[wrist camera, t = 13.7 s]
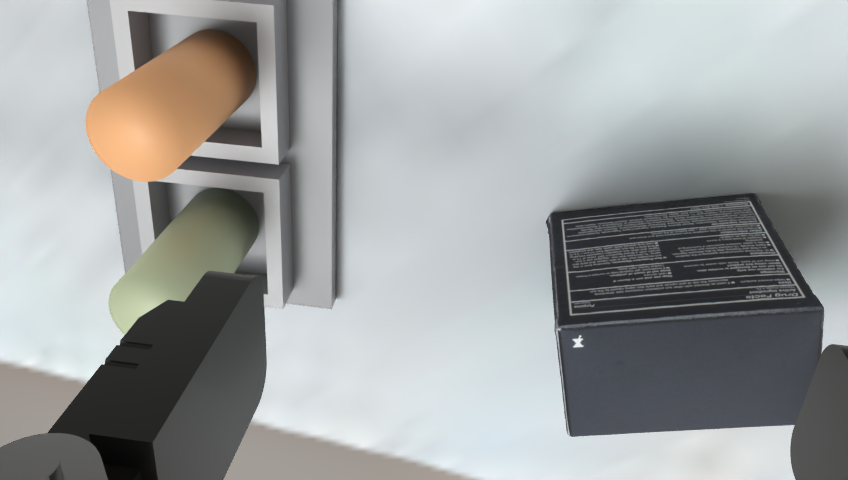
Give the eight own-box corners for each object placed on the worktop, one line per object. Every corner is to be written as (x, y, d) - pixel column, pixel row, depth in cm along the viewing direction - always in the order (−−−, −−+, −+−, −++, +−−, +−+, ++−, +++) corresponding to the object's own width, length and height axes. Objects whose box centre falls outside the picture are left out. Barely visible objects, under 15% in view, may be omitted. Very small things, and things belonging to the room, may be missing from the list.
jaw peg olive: (184, 184, 42) (103, 269, 34) (257, 192, 42) (192, 279, 34) (190, 249, 44) (114, 344, 36) (260, 257, 43) (199, 355, 36)
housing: (91, -47, 38) (57, -37, 35) (337, -26, 37) (322, -14, 34) (134, 275, 46) (110, 303, 44) (335, 299, 45) (323, 329, 43)
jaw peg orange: (173, 25, 38) (79, 80, 30) (254, 33, 38) (180, 89, 30) (180, 105, 40) (93, 176, 32) (257, 113, 39) (189, 186, 32)
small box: (557, 315, 44) (563, 445, 35) (545, 211, 41) (548, 323, 32) (756, 300, 42) (819, 434, 33) (759, 189, 39) (828, 302, 30)
